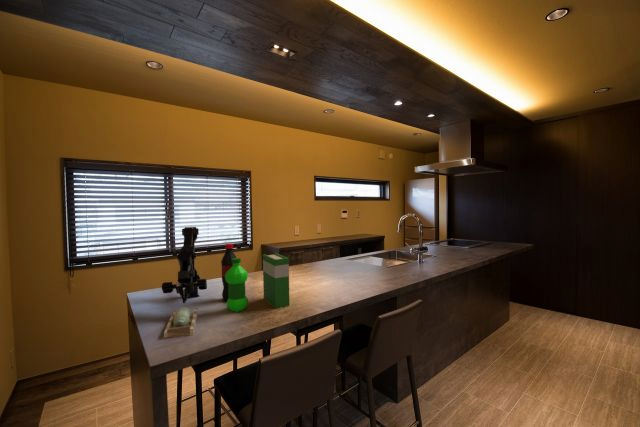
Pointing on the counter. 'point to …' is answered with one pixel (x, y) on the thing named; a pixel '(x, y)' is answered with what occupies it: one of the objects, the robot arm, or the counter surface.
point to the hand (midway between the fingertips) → (184, 302)
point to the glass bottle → (182, 317)
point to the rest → (180, 331)
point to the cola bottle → (226, 268)
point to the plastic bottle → (236, 286)
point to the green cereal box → (276, 280)
